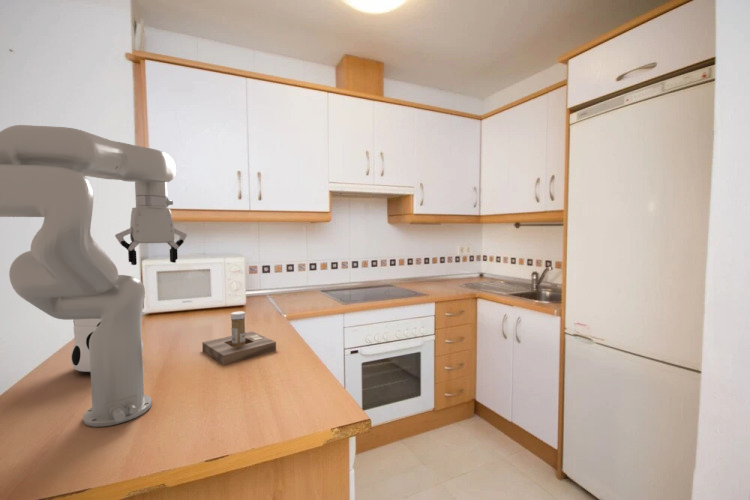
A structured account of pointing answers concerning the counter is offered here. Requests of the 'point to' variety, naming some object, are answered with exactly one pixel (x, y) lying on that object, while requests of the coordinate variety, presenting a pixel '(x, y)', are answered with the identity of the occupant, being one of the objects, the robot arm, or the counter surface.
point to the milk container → (83, 343)
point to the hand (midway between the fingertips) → (154, 263)
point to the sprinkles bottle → (238, 328)
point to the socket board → (238, 348)
